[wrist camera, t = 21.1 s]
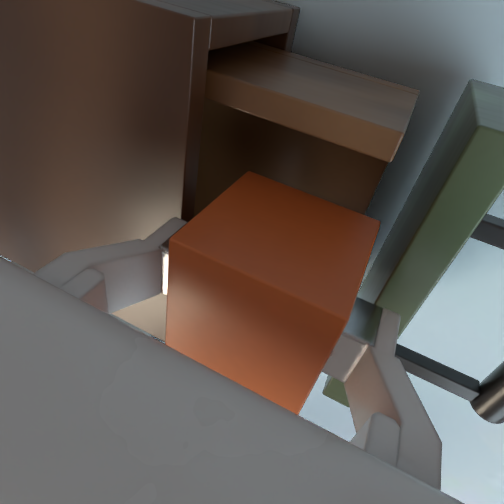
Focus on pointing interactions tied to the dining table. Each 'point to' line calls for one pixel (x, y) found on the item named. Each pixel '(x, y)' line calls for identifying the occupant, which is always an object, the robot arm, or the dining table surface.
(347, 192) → the drawer
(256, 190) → the block
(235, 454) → the robot arm
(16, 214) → the cabinet
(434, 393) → the dining table surface
